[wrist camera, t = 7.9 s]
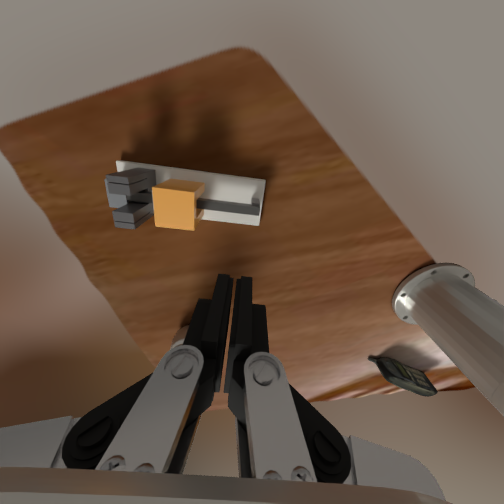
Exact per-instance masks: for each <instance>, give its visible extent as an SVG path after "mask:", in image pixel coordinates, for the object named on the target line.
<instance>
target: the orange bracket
mask: <svg viewBox="0 0 504 504" xmlns="http://www.w3.org/2000/svg"><path fill="white" fill-rule="evenodd" d="M204 190H205V183H202V182H195V181H187V180H179V179H168V180H166V181H164V182H162V183H160V184H158V185H156V186H154V187H152V193H153V204H154V216H155V226H157V227H166V228H175V229H184V230H193V231H194V230H195V229H196V227H197V225H198V224H199V222H200V220H201V219H202V217H203V215H204V209H197V208H196V200H197V199H198V198H199V197H200V196H201V195H202V193H203V192H204Z"/></svg>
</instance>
